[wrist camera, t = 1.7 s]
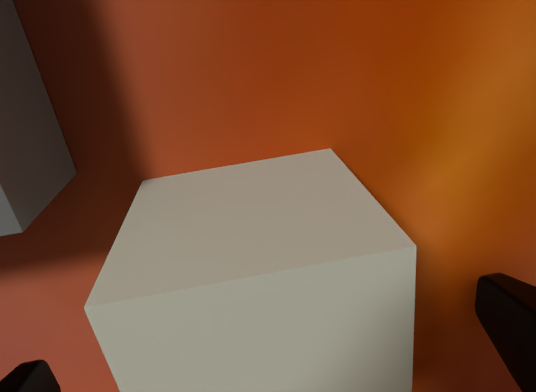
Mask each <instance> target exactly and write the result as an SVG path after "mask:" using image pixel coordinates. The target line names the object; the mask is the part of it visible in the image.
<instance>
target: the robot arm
mask: <svg viewBox="0 0 536 392" xmlns="http://www.w3.org/2000/svg"><path fill="white" fill-rule="evenodd" d="M475 311H476V315H477V317H478V319H479V321H480V322H481V324H482V326H483V327H484V329H485V331H486V333H487V334H488V336H489V338H490V339H491V341H492V343H493V345H494V346H495V348H496V350H497V351H498V353H499V355H500V356H501V358H502V360H503V362H504V363H505V365H506V367H507V368H508V370H509V372H510V373H511V375H512V377H513V378H514V380H515V381H516V383H517V385H518V386H519V388H520V389H521V390H522V392H536V287H535V286H532V285H530V284H527V283H525V282H522V281H520V280H518V279H515V278H513V277H510V276H508V275H505V274H502V273H493V274H488V275H483V276H481V277H480V278H479V279H478V282H477V290H476V299H475ZM0 392H61V390H60V386H59V384H58V382H57V380H56V378H55V376H54V375H53V373H52V371H51V369H50V367H49V365H48V363H47V362H46V361H44V360H35V361H29V362H24V363H22V364H20V365H18V366H17V367H16V368H15V369H14V370H12V371H11V372H10V373H9V374H8V375H7V376H6V377H4V378H3V379H2V380H1V381H0Z"/></svg>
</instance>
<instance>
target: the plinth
mask: <svg viewBox="0 0 536 392" xmlns="http://www.w3.org/2000/svg"><path fill="white" fill-rule="evenodd" d="M76 174H77V171H76V169H75V166H74V163H73V161H72V158H71V155H70V153H69V150H68V147H67V145H66V142H65V139H64V137H63V134H62V131H61V129H60V126H59V123H58V120H57V118H56V115H55V112H54V110H53V107H52V104H51V102H50V99H49V96H48V94H47V91H46V88H45V86H44V83H43V80H42V78H41V75H40V72H39V70H38V67H37V64H36V62H35V59H34V56H33V54H32V51H31V48H30V45H29V43H28V40H27V37H26V35H25V32H24V29H23V27H22V24H21V21H20V19H19V16H18V13H17V11H16V8H15V5H14V3H13V0H0V236H4V235H10V234H16V233H22V232H24V231H25V229H26V228H27V227H28V226H29V225H30V224H31V223H32V222H33V221H34V220H35V219H36V217H37V216H38V215H39V214H40V213H41V212H42V211H43V210H44V209H45V208H46V207H47V205H48V204H49V203H50V202H51V201H52V200H53V199H54V198H55V197H56V196H57V195H58V193H59V192H60V191H61V190H62V189H63V188H64V187H65V186H66V185H67V184H68V183H69V181H70V180H71V179H72V178H73V177H74V176H75V175H76Z"/></svg>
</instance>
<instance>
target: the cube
mask: <svg viewBox="0 0 536 392" xmlns="http://www.w3.org/2000/svg"><path fill="white" fill-rule="evenodd" d="M416 248H417V246H416V245H415V244H414V242H413V241H412V240H411V239H410V238H409V237H408V236H407V235H406V233H405V232H404V231H403V230H402V229H401V228H400V227H399V225H398V224H397V223H396V222H395V221H394V220H393V219H392V218H391V216H390V215H389V214H388V213H387V212H386V211H385V210H384V208H383V207H382V206H381V205H380V204H379V203H378V202H377V201H376V199H375V198H374V197H373V196H372V195H371V194H370V193H369V191H368V190H367V189H366V188H365V187H364V186H363V185H362V183H361V182H360V181H359V180H358V179H357V178H356V177H355V176H354V174H353V173H352V172H351V171H350V170H349V169H348V168H347V166H346V165H345V164H344V163H343V162H342V161H341V160H340V159H339V157H338V156H337V155H336V154H335V153H334V152H333V151H332V149H331V148H330V149H324V150H318V151H312V152H306V153H301V154H295V155H289V156H283V157H277V158H271V159H265V160H260V161H254V162H248V163H242V164H236V165H230V166H224V167H219V168H213V169H207V170H201V171H195V172H189V173H184V174H178V175H172V176H166V177H160V178H154V179H148V180H143V181H142V183H141V185H140V187H139V189H138V192H137V194H136V196H135V198H134V200H133V202H132V205H131V207H130V209H129V211H128V213H127V215H126V217H125V220H124V222H123V224H122V226H121V228H120V230H119V233H118V235H117V237H116V239H115V241H114V243H113V246H112V248H111V250H110V252H109V254H108V256H107V259H106V261H105V263H104V265H103V267H102V269H101V272H100V274H99V276H98V278H97V280H96V282H95V285H94V287H93V289H92V291H91V293H90V295H89V297H88V300H87V302H86V304H85V306H84V310H85V312H86V315H87V317H88V319H89V322H90V324H91V326H92V328H93V331H94V333H95V335H96V338H97V340H98V342H99V344H100V347H101V349H102V351H103V353H104V356H105V358H106V360H107V363H108V365H109V367H110V369H111V372H112V374H113V376H114V379H115V381H116V383H117V385H118V388H119V390H120V392H412V372H413V341H414V310H415V279H416Z"/></svg>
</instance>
